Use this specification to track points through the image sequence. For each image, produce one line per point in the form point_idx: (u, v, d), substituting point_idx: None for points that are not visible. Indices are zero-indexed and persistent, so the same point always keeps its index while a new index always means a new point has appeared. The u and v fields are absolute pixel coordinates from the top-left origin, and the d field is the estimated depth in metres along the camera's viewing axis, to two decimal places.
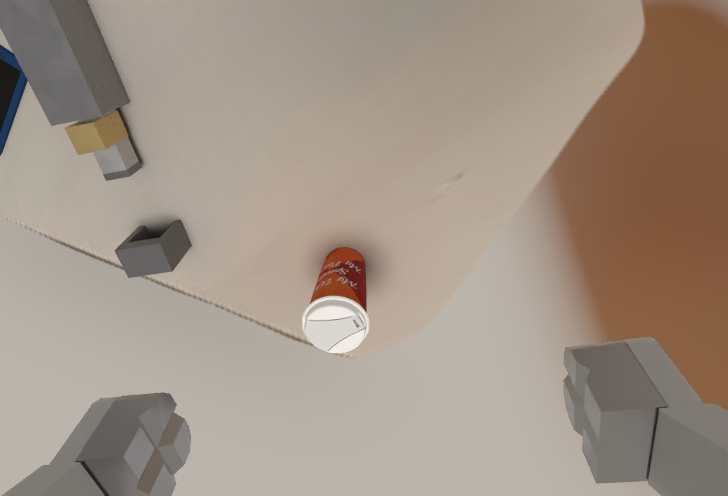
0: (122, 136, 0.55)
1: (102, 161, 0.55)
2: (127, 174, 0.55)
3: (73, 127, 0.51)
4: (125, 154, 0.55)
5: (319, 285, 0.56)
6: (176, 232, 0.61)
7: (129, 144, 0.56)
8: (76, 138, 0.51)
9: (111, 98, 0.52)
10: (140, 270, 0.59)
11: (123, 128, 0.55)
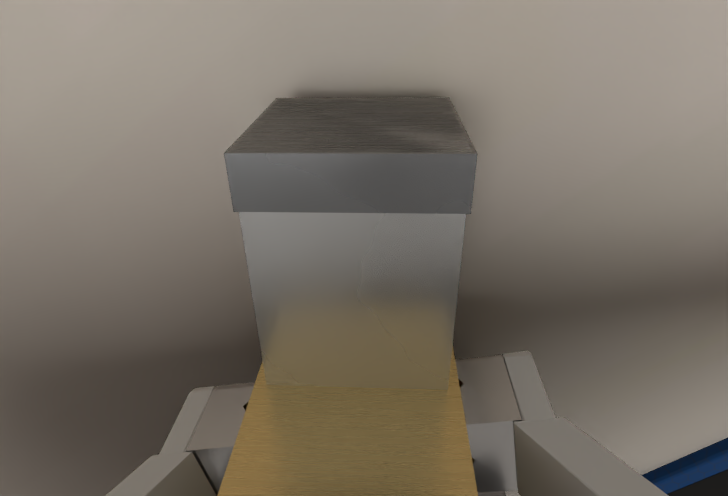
0: None
1: (415, 306, 0.07)
2: (243, 173, 0.06)
3: None
4: None
5: None
6: None
7: None
8: None
9: None
10: None
11: None
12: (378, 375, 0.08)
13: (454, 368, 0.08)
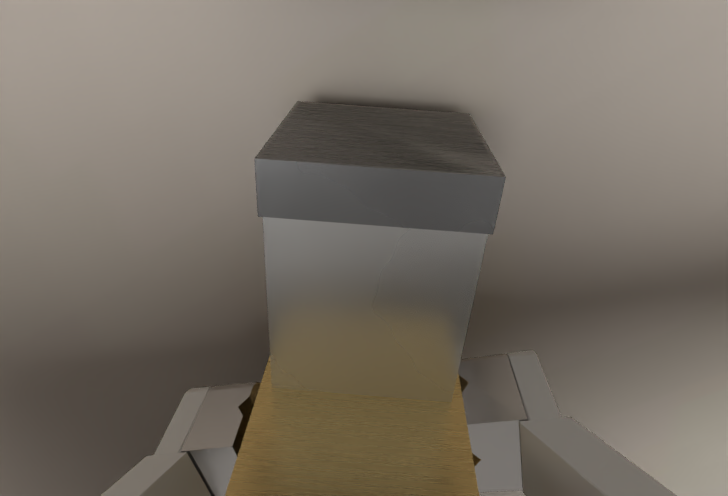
0: None
1: (428, 318, 0.07)
2: (271, 180, 0.06)
3: None
4: None
5: None
6: None
7: None
8: None
9: None
10: None
11: None
12: (384, 384, 0.08)
13: (457, 381, 0.08)
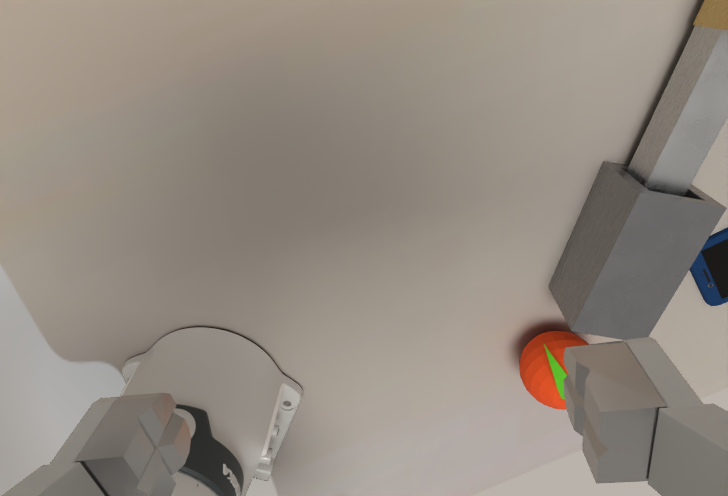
0: None
1: None
2: None
3: None
4: None
5: None
6: None
7: None
8: None
9: (615, 190, 0.34)
10: None
11: None
12: None
13: None
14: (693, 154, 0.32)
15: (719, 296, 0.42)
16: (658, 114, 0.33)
